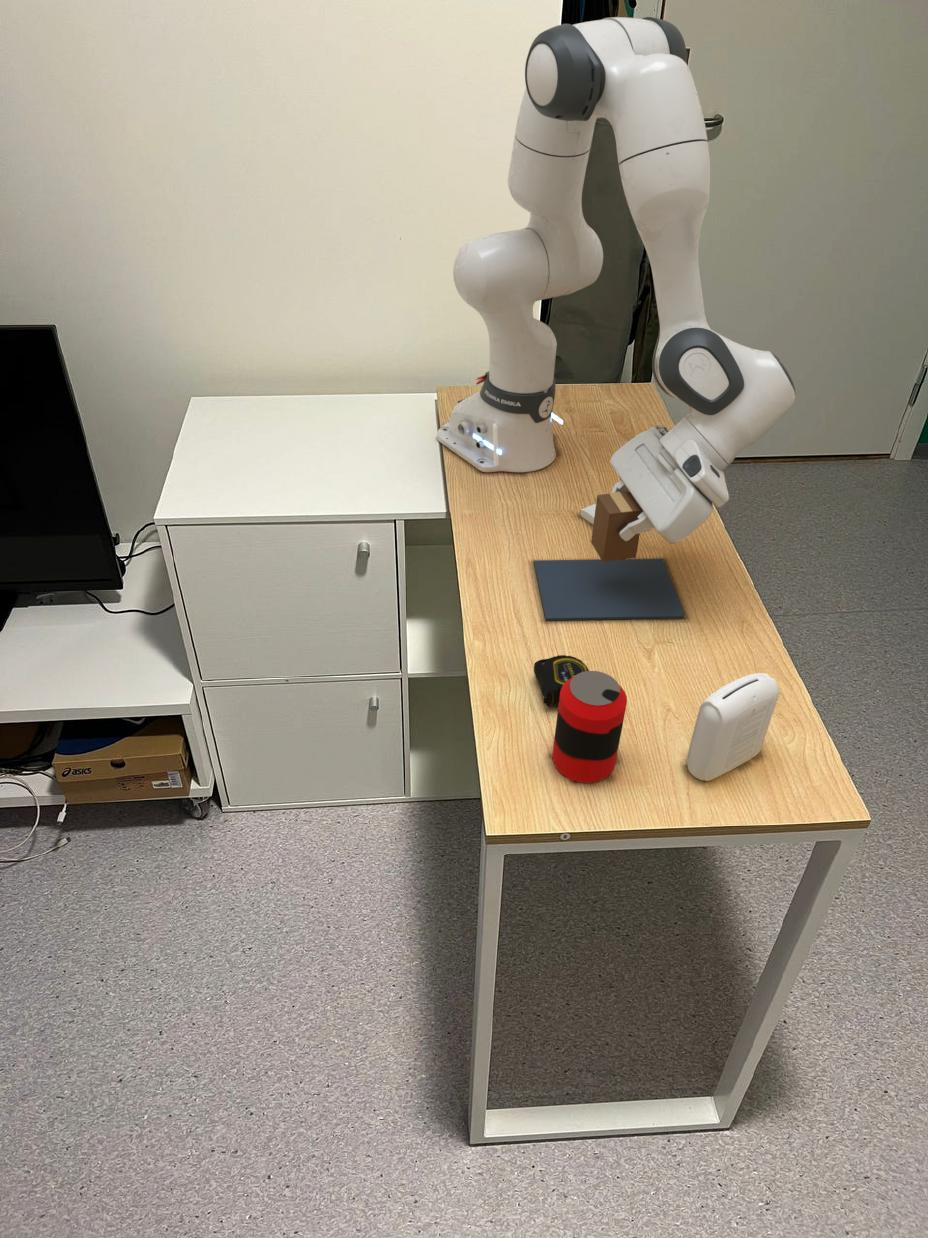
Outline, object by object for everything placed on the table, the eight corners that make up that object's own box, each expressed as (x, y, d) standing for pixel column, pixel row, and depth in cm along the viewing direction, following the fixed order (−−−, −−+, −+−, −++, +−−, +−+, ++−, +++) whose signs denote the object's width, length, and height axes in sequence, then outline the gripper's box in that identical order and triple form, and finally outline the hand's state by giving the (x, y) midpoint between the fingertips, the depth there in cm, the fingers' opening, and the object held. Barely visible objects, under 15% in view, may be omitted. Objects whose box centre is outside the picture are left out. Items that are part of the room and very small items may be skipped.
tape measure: (531, 676, 127) (533, 654, 125) (582, 672, 128) (584, 650, 125) (541, 712, 122) (544, 690, 119) (594, 708, 123) (597, 686, 120)
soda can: (597, 794, 111) (610, 721, 104) (540, 767, 114) (549, 694, 107) (625, 754, 117) (639, 681, 109) (569, 729, 120) (580, 656, 112)
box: (590, 542, 139) (597, 493, 134) (623, 538, 140) (630, 490, 135) (602, 562, 135) (609, 513, 130) (636, 558, 136) (644, 509, 131)
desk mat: (545, 621, 136) (546, 618, 136) (533, 563, 147) (533, 560, 146) (684, 618, 137) (685, 615, 137) (662, 561, 148) (662, 558, 148)
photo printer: (739, 732, 120) (761, 657, 112) (765, 753, 117) (789, 679, 109) (678, 765, 115) (697, 689, 108) (704, 788, 113) (725, 712, 105)
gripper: (648, 407, 136) (576, 473, 141) (709, 480, 121) (625, 553, 125) (672, 432, 140) (601, 497, 144) (734, 507, 125) (652, 576, 129)
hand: (613, 523), depth 135 cm, fingers closed on box, 5 cm apart
